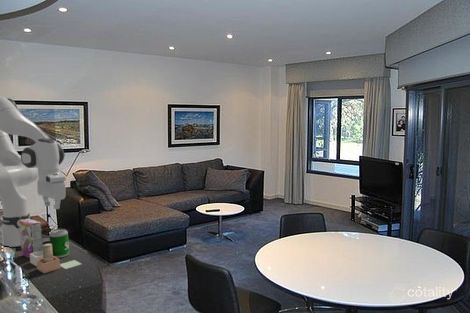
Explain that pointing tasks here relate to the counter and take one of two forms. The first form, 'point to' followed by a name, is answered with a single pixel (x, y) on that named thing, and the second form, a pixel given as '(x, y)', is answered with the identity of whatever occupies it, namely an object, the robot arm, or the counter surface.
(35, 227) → the candy bar box
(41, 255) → the light grey square bin
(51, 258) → the beech peg
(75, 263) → the coaster
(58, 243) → the soda can
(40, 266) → the orange square socket block
